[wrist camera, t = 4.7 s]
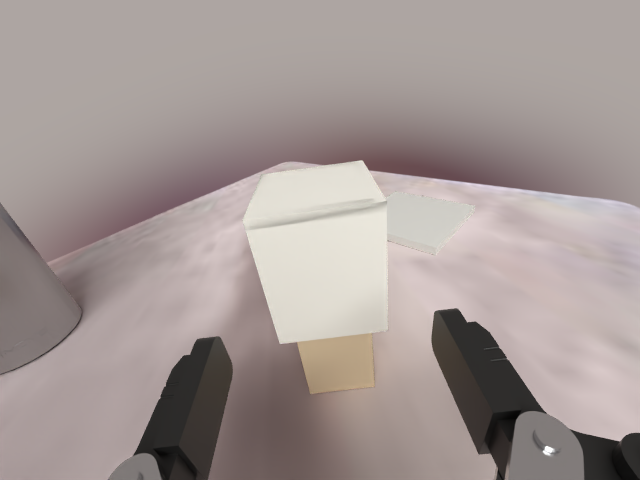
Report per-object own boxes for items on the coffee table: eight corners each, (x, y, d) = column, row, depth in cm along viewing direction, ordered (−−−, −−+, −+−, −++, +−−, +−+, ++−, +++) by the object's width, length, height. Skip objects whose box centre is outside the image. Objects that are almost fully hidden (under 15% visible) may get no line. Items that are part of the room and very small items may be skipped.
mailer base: (310, 394, 20) (265, 219, 13) (309, 341, 24) (275, 184, 17) (374, 386, 20) (364, 206, 13) (363, 334, 24) (351, 174, 17)
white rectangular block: (279, 344, 16) (242, 220, 12) (286, 276, 22) (261, 174, 18) (388, 330, 16) (386, 200, 12) (368, 266, 22) (362, 160, 17)
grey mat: (350, 229, 40) (349, 222, 39) (395, 196, 47) (395, 191, 46) (435, 255, 32) (436, 247, 32) (474, 212, 39) (475, 205, 39)
